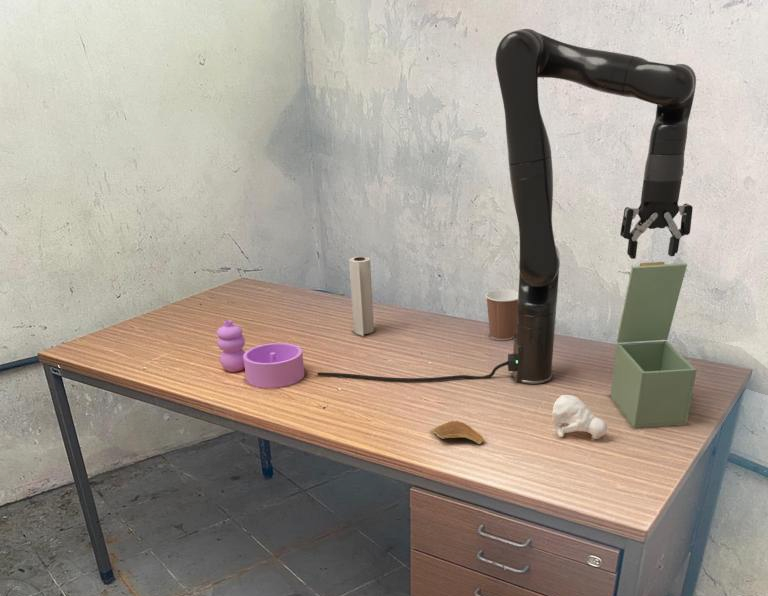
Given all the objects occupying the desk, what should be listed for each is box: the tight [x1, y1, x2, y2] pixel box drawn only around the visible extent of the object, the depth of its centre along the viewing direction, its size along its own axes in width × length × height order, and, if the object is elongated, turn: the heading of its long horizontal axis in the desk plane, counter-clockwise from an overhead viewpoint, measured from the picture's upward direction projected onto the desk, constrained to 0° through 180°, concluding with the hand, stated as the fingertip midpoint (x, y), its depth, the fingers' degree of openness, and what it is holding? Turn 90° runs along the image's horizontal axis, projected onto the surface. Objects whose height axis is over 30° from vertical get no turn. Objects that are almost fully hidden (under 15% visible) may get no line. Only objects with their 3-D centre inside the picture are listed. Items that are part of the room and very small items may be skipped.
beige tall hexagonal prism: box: [348, 256, 375, 337], centre depth 222 cm, size 7×6×21 cm
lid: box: [616, 261, 688, 344], centre depth 170 cm, size 18×12×5 cm
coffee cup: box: [485, 289, 519, 341], centre depth 216 cm, size 10×10×12 cm
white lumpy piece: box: [551, 394, 608, 441], centre depth 163 cm, size 6×8×12 cm
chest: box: [609, 340, 697, 429], centre depth 171 cm, size 18×12×13 cm, turn 3°
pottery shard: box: [432, 420, 485, 445], centre depth 166 cm, size 10×9×2 cm
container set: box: [216, 319, 306, 389], centre depth 200 cm, size 25×15×13 cm, turn 60°
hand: (651, 256), depth 166 cm, fingers open, 8 cm apart
